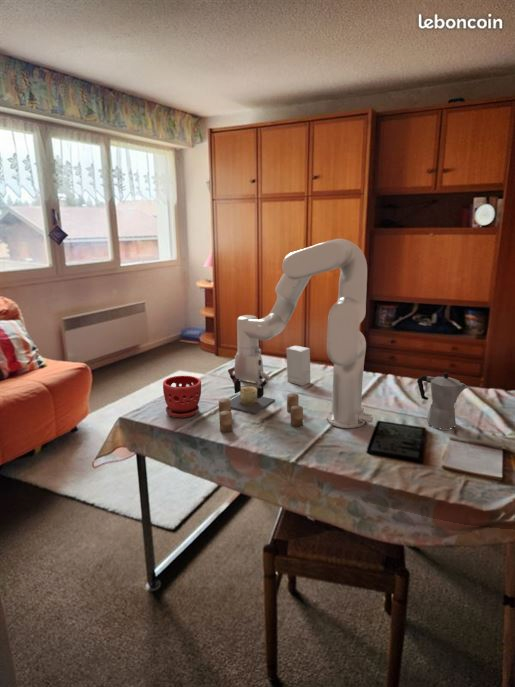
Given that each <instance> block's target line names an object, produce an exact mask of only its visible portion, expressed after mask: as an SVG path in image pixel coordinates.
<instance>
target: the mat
mask: <svg viewBox="0 0 515 687" xmlns="http://www.w3.org/2000/svg"><path fill="white" fill-rule="evenodd" d="M229 400H230V403H231V410H236V411H240V412H244V413H246V414H247V413H248V414H252V415H257V414H259V412H262V411H263V410H265V408H267V407H268V406H269V405H271V404H273V403H274V402H275V400H276V399H275V398H271V397H267V396H262V397H261V398H258V402H257V403H255V404H254V405H244V404H242V403H241V402H240V394H238V395H236V396H235V397H233V398H231V399H229Z"/></svg>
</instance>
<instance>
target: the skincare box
mask: <svg viewBox="0 0 515 687" xmlns="http://www.w3.org/2000/svg"><path fill="white" fill-rule="evenodd" d="M285 350H286V351H285V352H286V373H287V382H288V383H292V384H295V385H298V386H302V387H303V386H306V385H307V384H310V383H311V353H310V352H311V349H310V348H309V347H304V346H300V345H292V346H289V347H286V349H285Z"/></svg>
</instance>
